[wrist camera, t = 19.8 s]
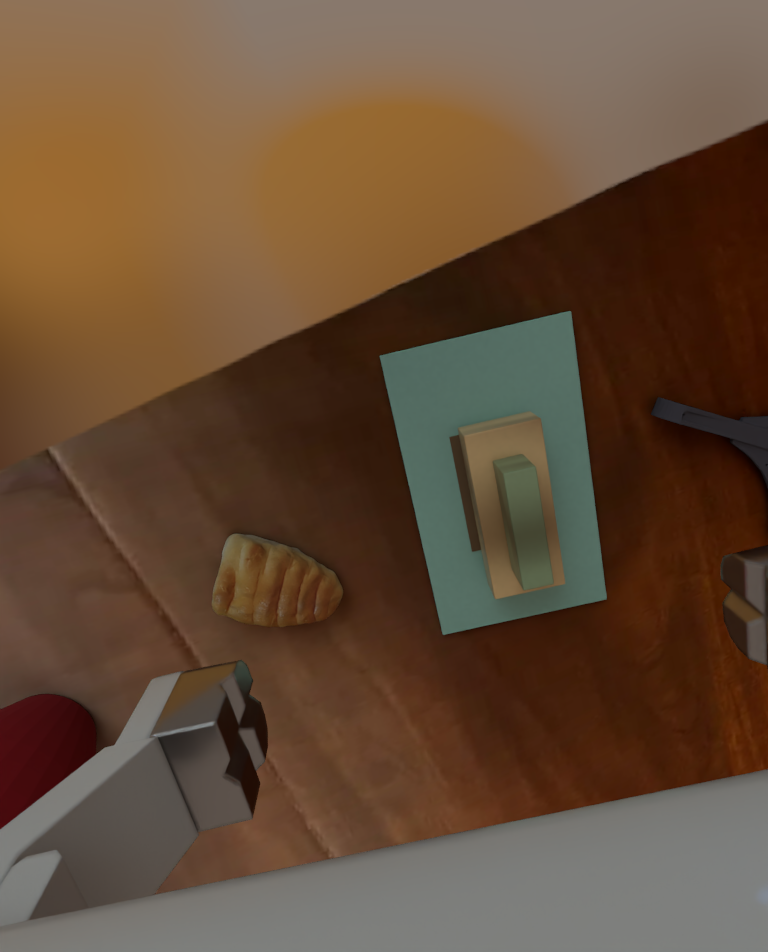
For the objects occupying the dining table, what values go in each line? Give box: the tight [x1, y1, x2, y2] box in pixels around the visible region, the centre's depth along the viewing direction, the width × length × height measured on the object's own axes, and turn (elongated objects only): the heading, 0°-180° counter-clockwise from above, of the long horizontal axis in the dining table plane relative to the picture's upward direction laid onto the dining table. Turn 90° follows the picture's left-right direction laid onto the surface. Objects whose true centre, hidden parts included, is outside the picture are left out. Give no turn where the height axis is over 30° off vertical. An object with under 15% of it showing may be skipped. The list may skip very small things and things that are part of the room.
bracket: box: [651, 397, 768, 488], centre depth 40 cm, size 14×15×3 cm
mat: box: [380, 311, 607, 635], centre depth 41 cm, size 22×13×1 cm, turn 13°
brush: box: [458, 411, 565, 599], centre depth 38 cm, size 12×5×7 cm, turn 13°
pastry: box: [212, 534, 343, 627], centre depth 42 cm, size 9×7×4 cm
